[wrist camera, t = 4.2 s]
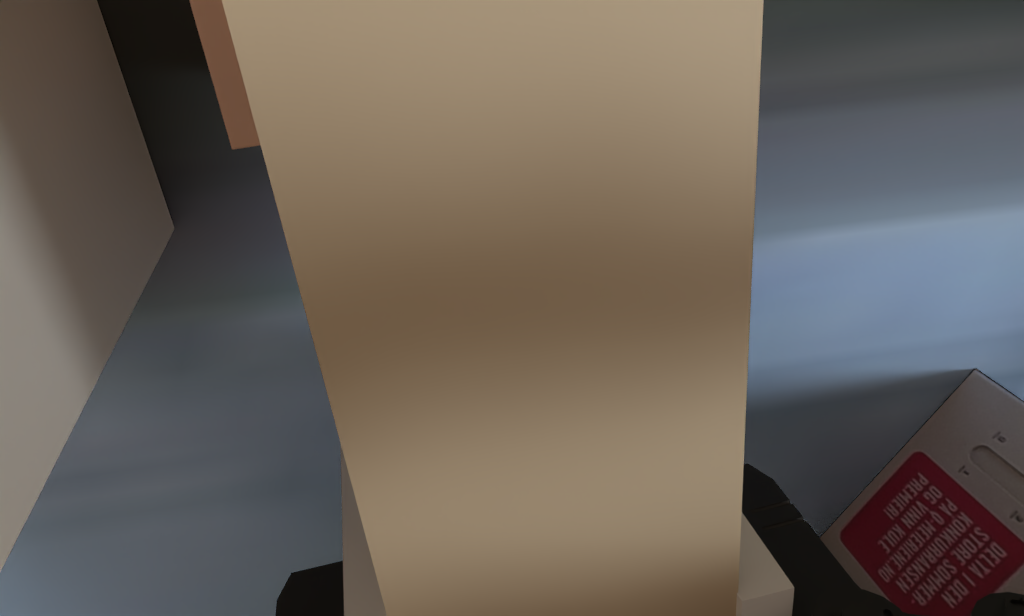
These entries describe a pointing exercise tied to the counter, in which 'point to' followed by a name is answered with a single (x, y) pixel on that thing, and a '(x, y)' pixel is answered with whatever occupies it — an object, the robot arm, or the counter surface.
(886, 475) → the juice carton
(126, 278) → the end caps
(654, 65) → the birch slat
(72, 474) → the counter surface
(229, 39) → the plain brown rectangular block
